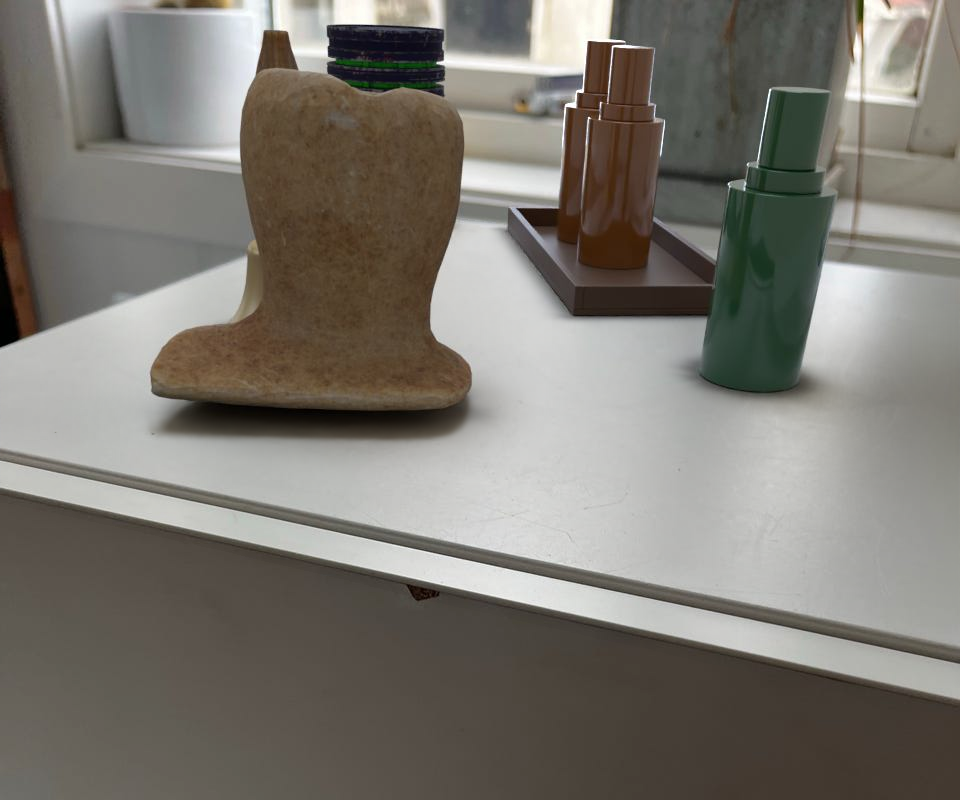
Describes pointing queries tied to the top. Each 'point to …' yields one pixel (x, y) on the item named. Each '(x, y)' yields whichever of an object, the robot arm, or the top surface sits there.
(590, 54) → the amber bottle
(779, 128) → the green bottle
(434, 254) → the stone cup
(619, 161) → the amber bottle
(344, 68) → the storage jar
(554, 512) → the top surface
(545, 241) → the tray
